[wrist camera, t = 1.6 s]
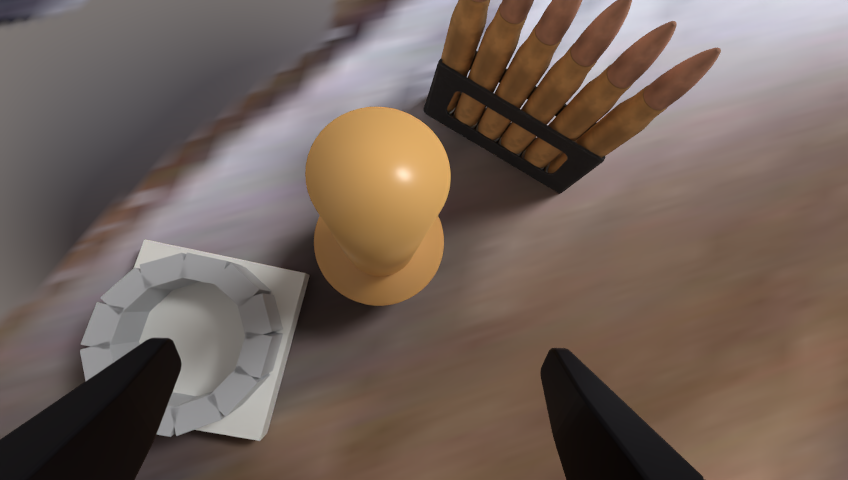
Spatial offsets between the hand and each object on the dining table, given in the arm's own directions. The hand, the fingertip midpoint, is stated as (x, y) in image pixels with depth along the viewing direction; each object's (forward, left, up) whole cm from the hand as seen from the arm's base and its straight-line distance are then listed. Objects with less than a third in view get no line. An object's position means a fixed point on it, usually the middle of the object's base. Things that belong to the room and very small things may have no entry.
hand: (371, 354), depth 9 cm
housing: (-2, +9, -12) cm, 15 cm away
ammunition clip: (+13, -5, -13) cm, 19 cm away
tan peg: (+4, +1, -12) cm, 13 cm away
